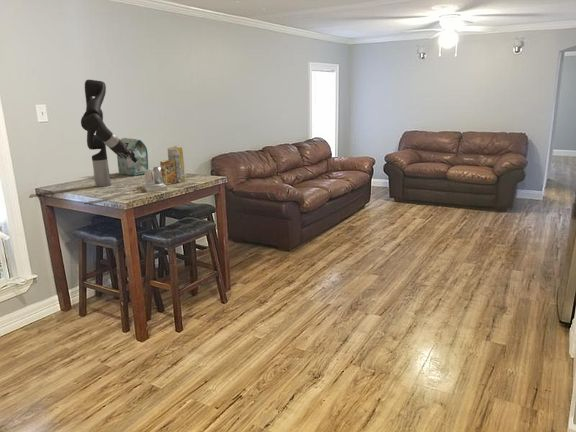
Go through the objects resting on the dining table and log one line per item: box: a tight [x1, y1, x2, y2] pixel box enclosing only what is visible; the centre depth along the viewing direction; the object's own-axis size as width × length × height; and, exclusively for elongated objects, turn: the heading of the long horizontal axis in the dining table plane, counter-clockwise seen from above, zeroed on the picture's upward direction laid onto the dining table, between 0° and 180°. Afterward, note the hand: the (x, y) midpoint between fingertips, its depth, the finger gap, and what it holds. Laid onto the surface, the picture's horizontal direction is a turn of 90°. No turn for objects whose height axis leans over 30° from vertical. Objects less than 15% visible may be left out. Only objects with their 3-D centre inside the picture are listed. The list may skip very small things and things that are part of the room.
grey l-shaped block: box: [141, 168, 168, 193], centre depth 278 cm, size 12×15×11 cm
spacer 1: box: [126, 151, 136, 169], centre depth 260 cm, size 4×4×10 cm
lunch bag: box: [114, 137, 150, 176], centre depth 335 cm, size 23×16×27 cm
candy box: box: [159, 159, 178, 186], centre depth 293 cm, size 9×4×15 cm, turn 146°
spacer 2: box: [152, 166, 162, 184], centre depth 278 cm, size 4×4×10 cm
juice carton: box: [167, 145, 186, 183], centre depth 300 cm, size 9×8×24 cm
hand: (133, 161), depth 262 cm, fingers closed on spacer 1, 4 cm apart
